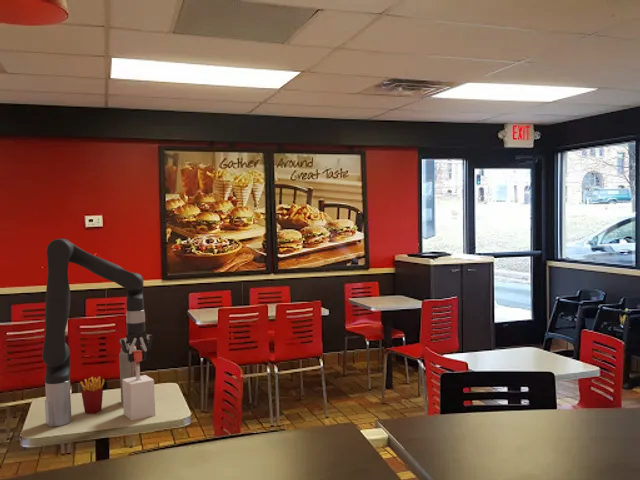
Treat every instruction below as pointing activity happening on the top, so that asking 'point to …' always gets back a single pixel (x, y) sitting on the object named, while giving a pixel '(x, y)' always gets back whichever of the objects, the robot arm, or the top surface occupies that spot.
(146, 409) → the pump dispenser
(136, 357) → the pump plunger
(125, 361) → the thermos bottle
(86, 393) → the french fries
